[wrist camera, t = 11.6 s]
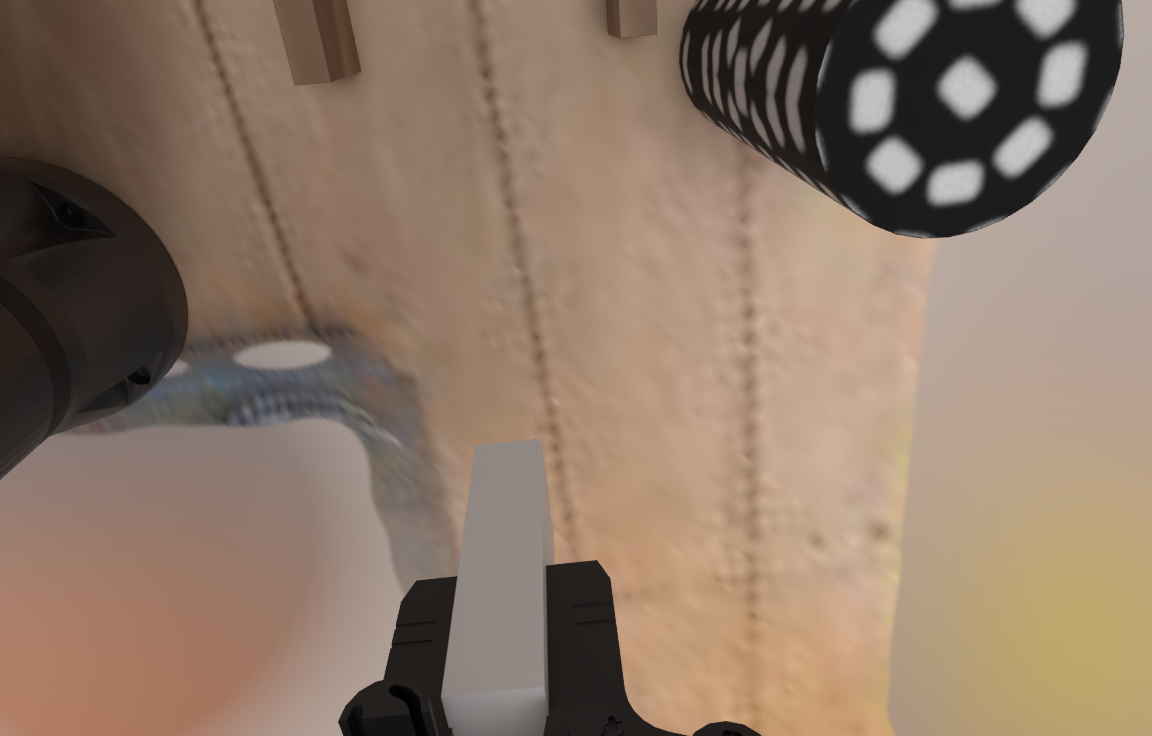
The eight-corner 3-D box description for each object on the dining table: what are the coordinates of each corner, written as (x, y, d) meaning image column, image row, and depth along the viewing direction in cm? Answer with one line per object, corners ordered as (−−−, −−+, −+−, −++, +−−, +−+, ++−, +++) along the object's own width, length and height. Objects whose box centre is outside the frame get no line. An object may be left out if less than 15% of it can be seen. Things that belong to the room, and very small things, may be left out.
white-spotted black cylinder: (646, 66, 37) (750, 119, 19) (757, -81, 34) (999, -180, 16) (758, 164, 39) (941, 291, 22) (869, 34, 37) (1183, 58, 19)
